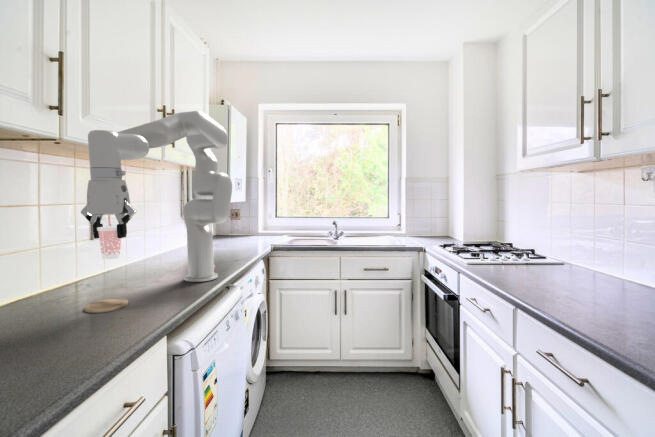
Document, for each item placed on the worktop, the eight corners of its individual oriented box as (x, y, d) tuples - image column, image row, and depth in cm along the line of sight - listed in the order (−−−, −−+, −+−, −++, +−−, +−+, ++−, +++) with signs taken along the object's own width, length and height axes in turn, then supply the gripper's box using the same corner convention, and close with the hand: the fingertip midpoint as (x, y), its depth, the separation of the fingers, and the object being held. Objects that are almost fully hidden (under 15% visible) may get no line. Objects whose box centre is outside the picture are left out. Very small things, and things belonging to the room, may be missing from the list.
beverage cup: (128, 256, 101) (126, 209, 100) (112, 260, 95) (109, 210, 94) (110, 255, 102) (107, 209, 101) (93, 259, 96) (90, 210, 95)
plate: (102, 301, 108) (102, 298, 107) (136, 301, 107) (136, 298, 107) (75, 312, 97) (74, 309, 97) (112, 313, 96) (112, 309, 96)
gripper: (143, 175, 101) (147, 235, 102) (85, 176, 101) (90, 236, 102) (128, 174, 93) (132, 239, 95) (66, 174, 93) (70, 240, 95)
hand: (110, 237), depth 98 cm, fingers closed on beverage cup, 6 cm apart
